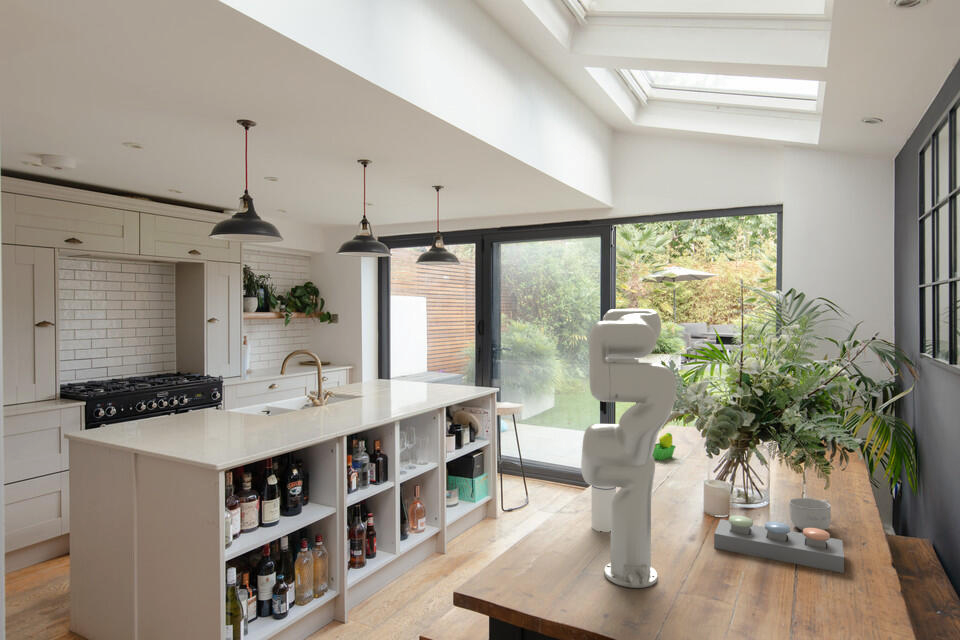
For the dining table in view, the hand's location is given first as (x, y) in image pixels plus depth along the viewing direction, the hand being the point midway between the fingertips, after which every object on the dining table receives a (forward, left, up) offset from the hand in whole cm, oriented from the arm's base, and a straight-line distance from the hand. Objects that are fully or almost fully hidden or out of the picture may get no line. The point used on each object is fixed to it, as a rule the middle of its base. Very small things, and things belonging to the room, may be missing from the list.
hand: (621, 413), depth 163 cm
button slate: (-9, -40, -33) cm, 52 cm away
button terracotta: (-14, -48, -33) cm, 59 cm away
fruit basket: (+86, -39, -36) cm, 101 cm away
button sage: (-5, -32, -33) cm, 46 cm away
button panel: (-9, -40, -36) cm, 54 cm away
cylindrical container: (+8, +3, -36) cm, 37 cm away
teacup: (+7, -59, -36) cm, 69 cm away
